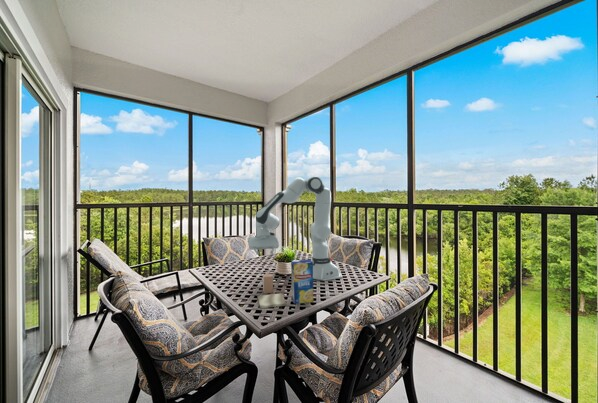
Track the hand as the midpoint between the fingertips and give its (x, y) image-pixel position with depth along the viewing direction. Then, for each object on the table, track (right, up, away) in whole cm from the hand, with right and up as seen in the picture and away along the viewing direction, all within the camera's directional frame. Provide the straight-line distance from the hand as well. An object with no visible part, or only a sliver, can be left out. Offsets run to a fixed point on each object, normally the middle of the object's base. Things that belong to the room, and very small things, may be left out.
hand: (264, 253), depth 168 cm
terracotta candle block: (+3, -21, -11) cm, 24 cm away
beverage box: (+24, -21, -24) cm, 40 cm away
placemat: (+7, -21, -25) cm, 34 cm away
